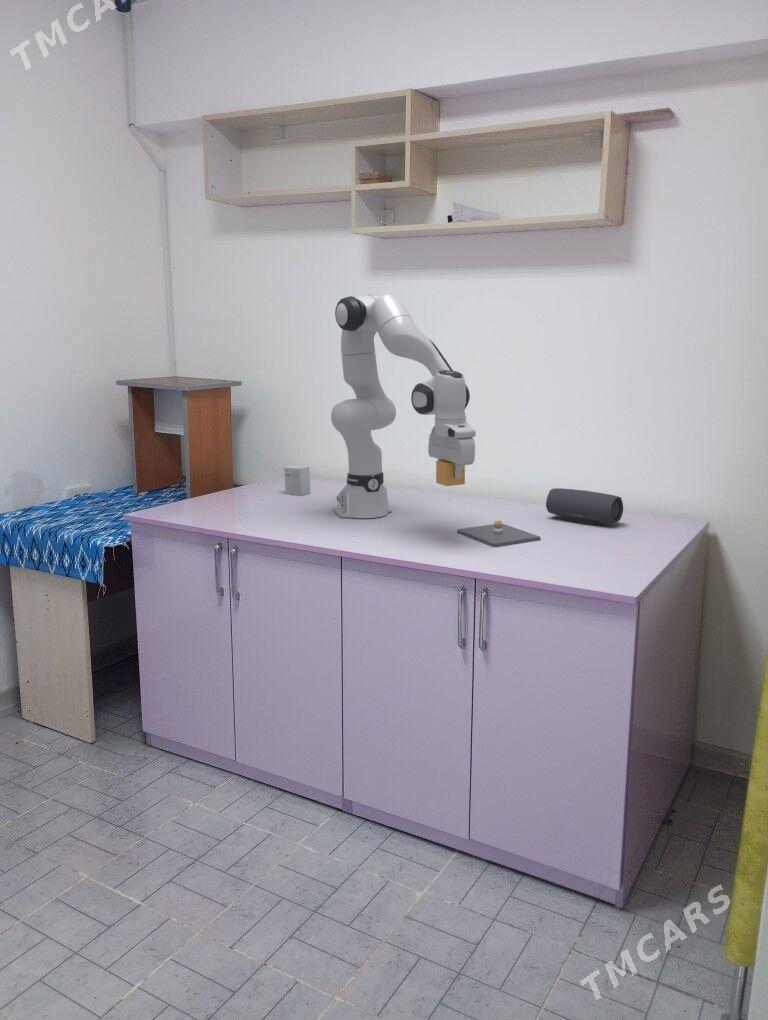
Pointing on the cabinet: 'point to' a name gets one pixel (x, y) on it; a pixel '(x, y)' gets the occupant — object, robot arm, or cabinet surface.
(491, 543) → the plate
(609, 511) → the bluetooth speaker
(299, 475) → the small box
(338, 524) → the cabinet surface
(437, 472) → the wooden cube
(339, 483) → the cabinet surface
